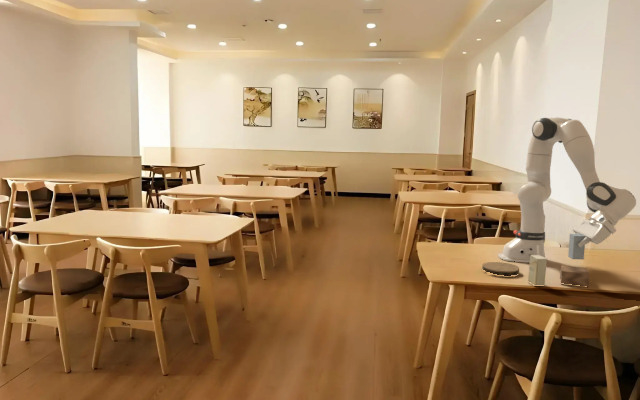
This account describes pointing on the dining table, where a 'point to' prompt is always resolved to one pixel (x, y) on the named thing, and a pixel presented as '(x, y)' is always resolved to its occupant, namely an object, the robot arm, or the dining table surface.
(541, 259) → the skincare box
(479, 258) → the dining table surface
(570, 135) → the robot arm
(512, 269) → the grey brown disc
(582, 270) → the walnut block
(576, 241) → the slate block
